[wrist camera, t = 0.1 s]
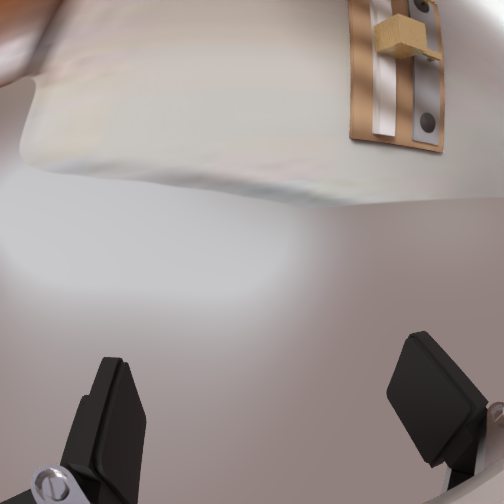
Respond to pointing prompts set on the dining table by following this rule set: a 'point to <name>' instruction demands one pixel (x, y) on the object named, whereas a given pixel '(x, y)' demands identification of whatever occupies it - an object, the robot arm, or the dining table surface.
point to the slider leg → (402, 38)
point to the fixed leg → (427, 2)
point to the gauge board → (401, 80)
